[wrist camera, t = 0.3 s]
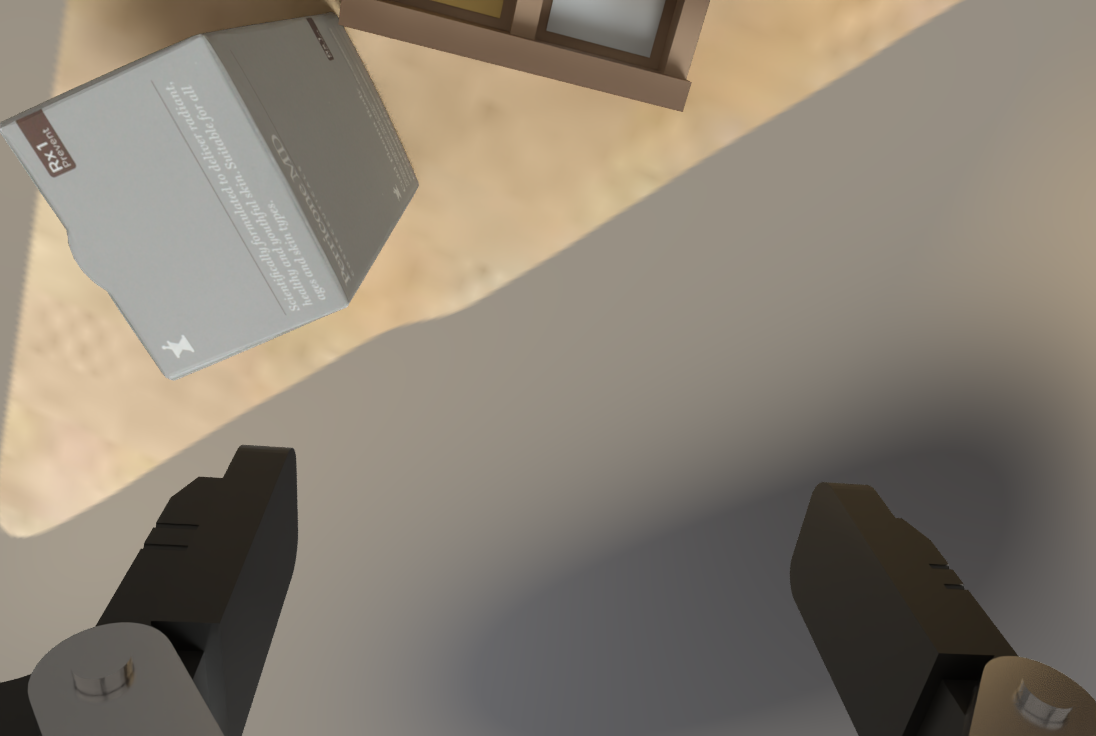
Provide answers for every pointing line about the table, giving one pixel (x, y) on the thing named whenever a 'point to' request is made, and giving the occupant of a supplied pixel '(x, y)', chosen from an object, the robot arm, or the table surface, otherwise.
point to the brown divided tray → (555, 38)
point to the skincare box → (223, 184)
